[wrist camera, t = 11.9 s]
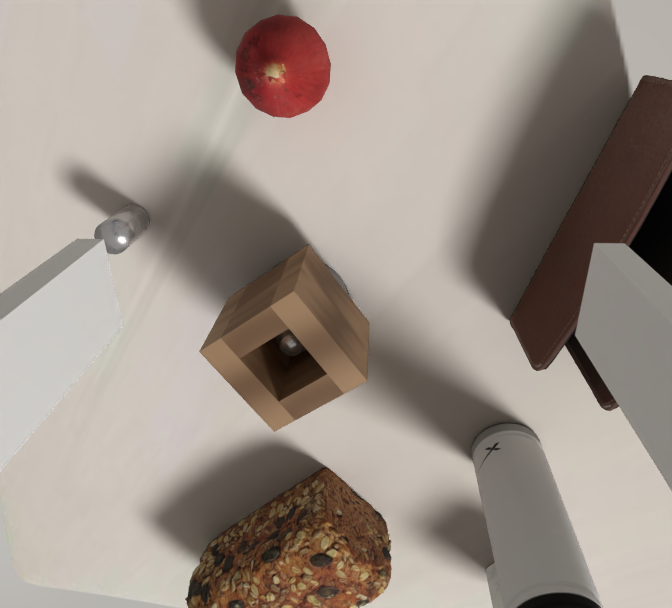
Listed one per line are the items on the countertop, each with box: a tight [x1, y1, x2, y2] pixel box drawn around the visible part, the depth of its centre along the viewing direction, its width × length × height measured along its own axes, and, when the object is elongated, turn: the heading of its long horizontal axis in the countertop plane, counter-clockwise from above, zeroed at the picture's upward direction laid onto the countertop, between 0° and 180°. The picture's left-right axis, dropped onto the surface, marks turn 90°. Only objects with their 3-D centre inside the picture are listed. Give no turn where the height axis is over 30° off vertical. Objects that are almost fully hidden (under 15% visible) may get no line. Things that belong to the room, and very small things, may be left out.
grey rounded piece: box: [94, 204, 150, 254], centre depth 41 cm, size 2×2×4 cm
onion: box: [235, 15, 331, 118], centre depth 34 cm, size 6×6×8 cm
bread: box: [185, 468, 391, 608], centre depth 54 cm, size 19×11×10 cm, turn 131°
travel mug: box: [472, 423, 603, 608], centre depth 42 cm, size 6×7×20 cm
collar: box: [199, 245, 369, 432], centre depth 40 cm, size 8×8×8 cm
